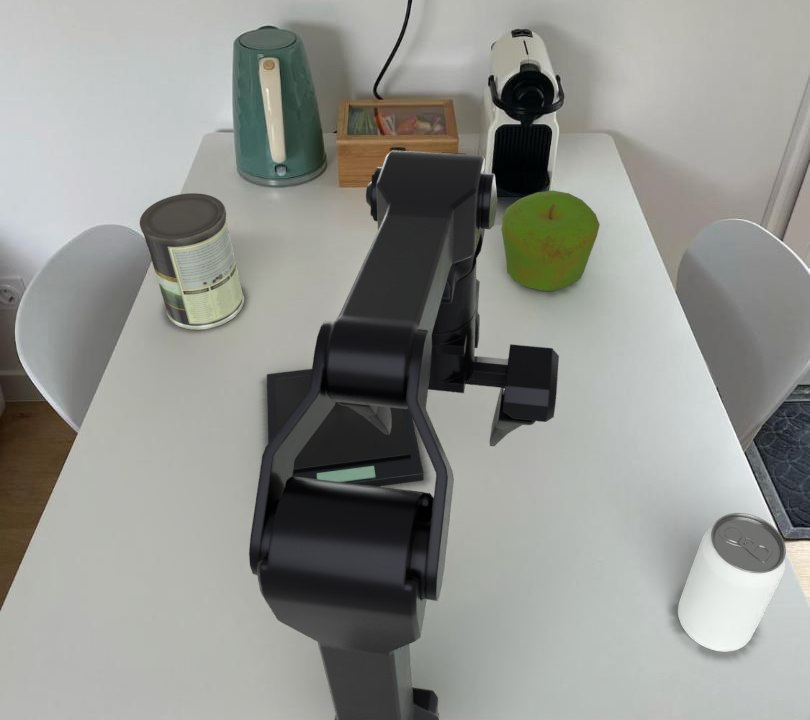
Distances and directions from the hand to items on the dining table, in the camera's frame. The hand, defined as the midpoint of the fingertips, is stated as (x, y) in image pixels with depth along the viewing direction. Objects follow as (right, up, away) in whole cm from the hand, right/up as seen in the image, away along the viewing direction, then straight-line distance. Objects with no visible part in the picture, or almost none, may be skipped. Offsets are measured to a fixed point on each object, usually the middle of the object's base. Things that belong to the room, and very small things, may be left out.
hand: (440, 436), depth 71 cm
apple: (+16, +18, +39) cm, 46 cm away
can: (+25, -17, +1) cm, 30 cm away
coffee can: (-29, +14, +37) cm, 49 cm away
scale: (-10, -1, +20) cm, 22 cm away
